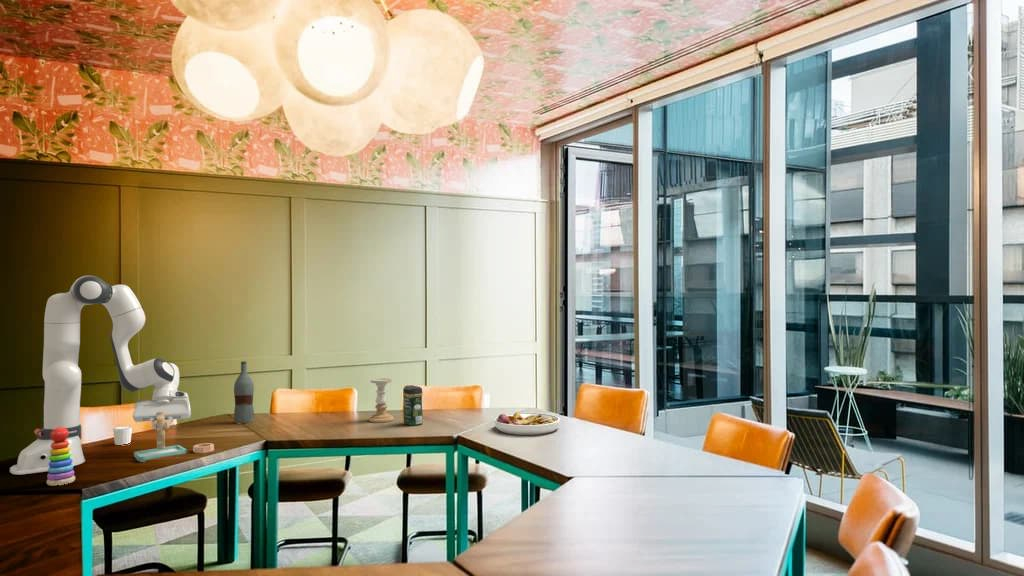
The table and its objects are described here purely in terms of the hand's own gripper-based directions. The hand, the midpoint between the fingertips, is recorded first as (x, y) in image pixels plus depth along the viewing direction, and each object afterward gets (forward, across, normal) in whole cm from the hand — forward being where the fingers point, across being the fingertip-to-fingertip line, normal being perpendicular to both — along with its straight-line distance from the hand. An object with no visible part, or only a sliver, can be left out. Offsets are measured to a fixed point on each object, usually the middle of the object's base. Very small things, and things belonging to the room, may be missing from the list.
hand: (160, 428), depth 249 cm
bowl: (+13, +150, +5) cm, 151 cm away
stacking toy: (+27, -25, -12) cm, 39 cm away
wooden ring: (+8, +15, +8) cm, 19 cm away
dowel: (+5, 0, +6) cm, 8 cm away
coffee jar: (-9, +104, +26) cm, 107 cm away
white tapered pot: (-14, -19, +30) cm, 38 cm away
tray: (+8, 0, +8) cm, 11 cm away
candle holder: (-20, +91, +37) cm, 100 cm away
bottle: (-35, +26, +51) cm, 67 cm away
